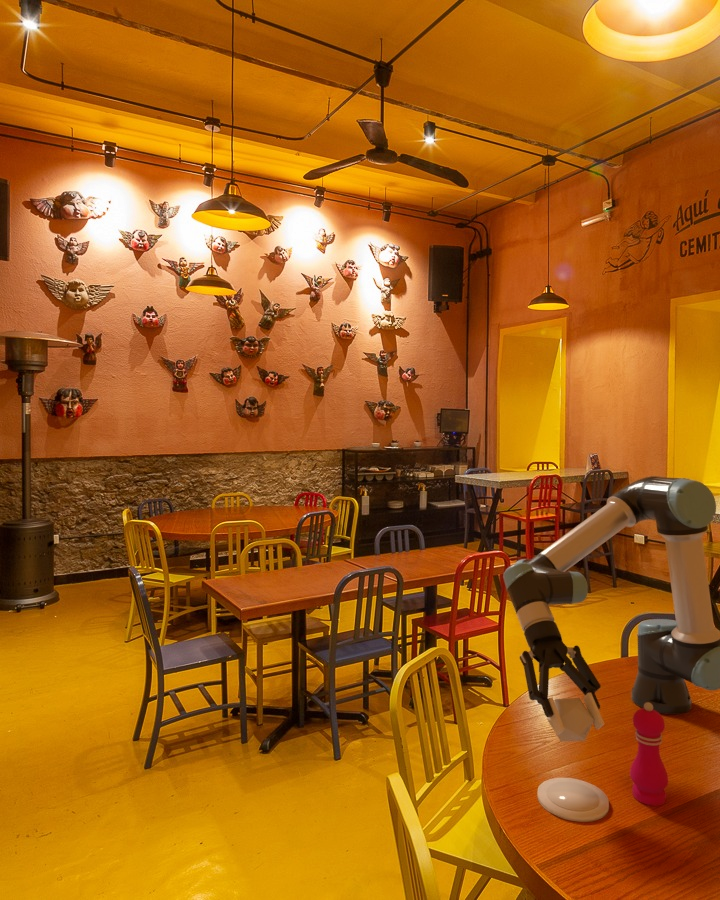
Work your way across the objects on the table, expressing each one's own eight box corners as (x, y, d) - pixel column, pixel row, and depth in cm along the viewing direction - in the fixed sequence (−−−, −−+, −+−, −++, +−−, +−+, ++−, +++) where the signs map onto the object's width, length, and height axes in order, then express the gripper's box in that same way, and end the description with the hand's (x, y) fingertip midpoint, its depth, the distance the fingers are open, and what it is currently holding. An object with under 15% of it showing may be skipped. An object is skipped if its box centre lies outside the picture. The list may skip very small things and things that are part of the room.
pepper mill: (666, 811, 125) (665, 713, 125) (627, 800, 129) (626, 705, 129) (670, 793, 131) (669, 699, 131) (633, 784, 135) (632, 692, 135)
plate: (582, 778, 138) (582, 772, 138) (623, 815, 124) (623, 809, 124) (525, 787, 135) (525, 782, 135) (560, 826, 121) (560, 821, 121)
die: (587, 755, 124) (605, 710, 127) (547, 732, 126) (567, 687, 128) (573, 750, 132) (591, 707, 135) (536, 728, 133) (554, 686, 136)
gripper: (574, 630, 146) (618, 730, 131) (491, 639, 141) (526, 743, 126) (587, 614, 141) (634, 716, 126) (501, 622, 136) (539, 729, 121)
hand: (580, 729), depth 126 cm, fingers closed on die, 8 cm apart
